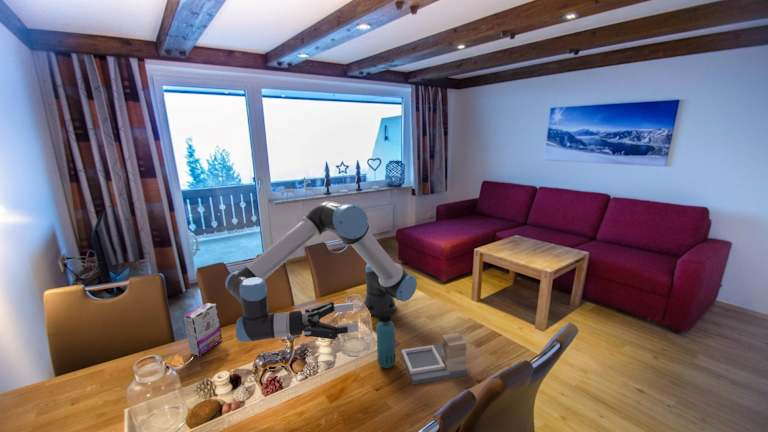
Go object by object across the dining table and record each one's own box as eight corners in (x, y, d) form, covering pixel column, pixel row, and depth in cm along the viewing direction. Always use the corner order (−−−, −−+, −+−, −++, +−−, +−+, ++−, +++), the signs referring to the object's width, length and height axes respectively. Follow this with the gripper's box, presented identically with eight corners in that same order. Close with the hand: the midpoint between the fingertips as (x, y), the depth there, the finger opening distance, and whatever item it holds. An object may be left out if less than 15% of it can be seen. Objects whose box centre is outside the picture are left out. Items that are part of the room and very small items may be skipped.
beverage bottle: (385, 374, 112) (383, 321, 108) (373, 364, 117) (371, 313, 113) (399, 366, 116) (398, 314, 112) (387, 357, 121) (386, 307, 117)
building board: (401, 354, 122) (400, 348, 122) (449, 346, 126) (449, 340, 125) (413, 384, 107) (413, 377, 107) (467, 375, 111) (468, 368, 110)
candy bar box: (213, 338, 136) (207, 302, 132) (222, 340, 134) (217, 303, 131) (189, 355, 125) (182, 315, 122) (199, 357, 124) (192, 317, 120)
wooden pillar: (441, 360, 116) (442, 335, 114) (458, 358, 117) (458, 332, 115) (448, 372, 110) (448, 345, 108) (465, 369, 111) (466, 342, 109)
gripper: (292, 315, 119) (351, 308, 123) (287, 358, 95) (360, 348, 99) (290, 296, 117) (350, 290, 121) (285, 334, 93) (360, 325, 97)
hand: (355, 316), depth 110 cm, fingers open, 13 cm apart
